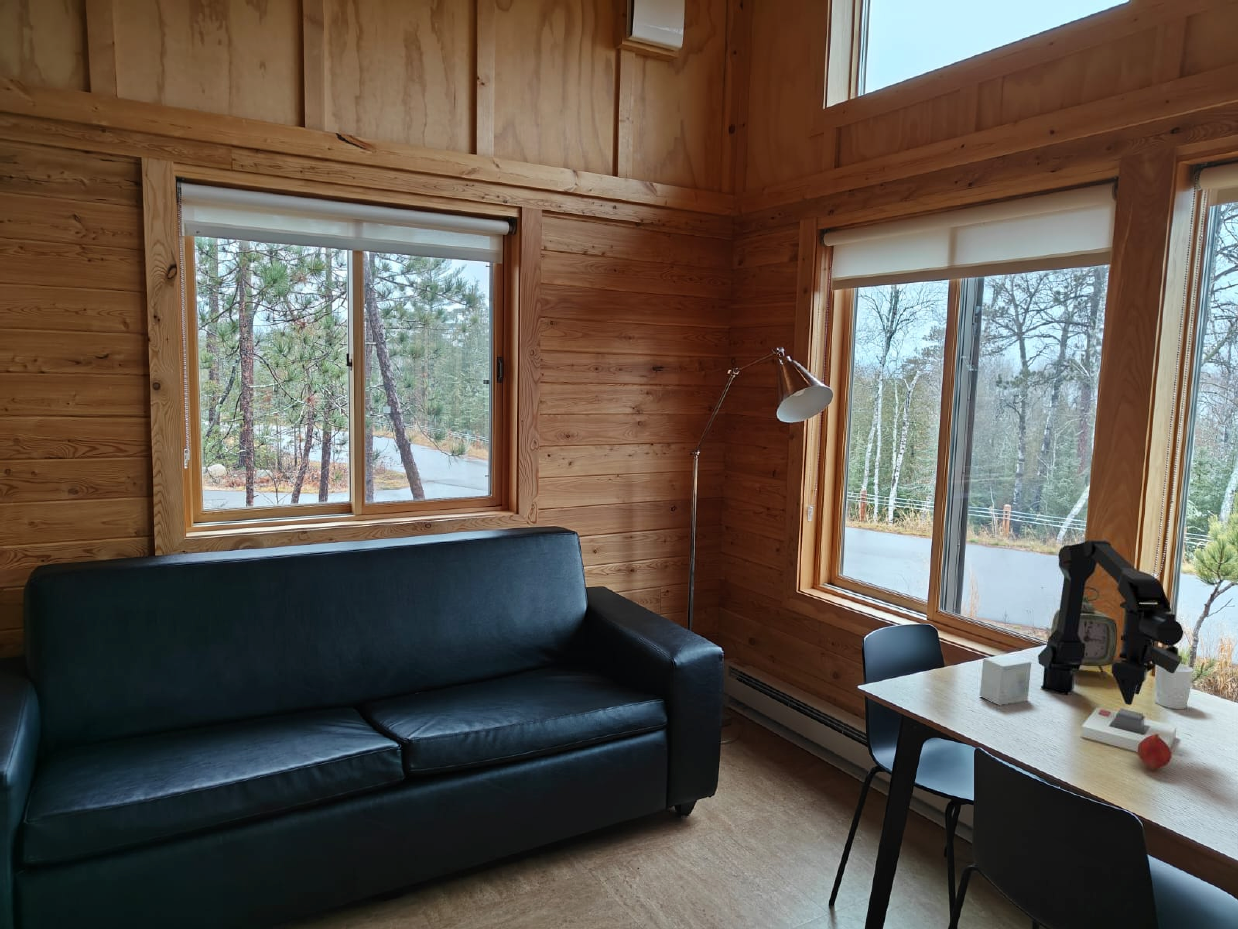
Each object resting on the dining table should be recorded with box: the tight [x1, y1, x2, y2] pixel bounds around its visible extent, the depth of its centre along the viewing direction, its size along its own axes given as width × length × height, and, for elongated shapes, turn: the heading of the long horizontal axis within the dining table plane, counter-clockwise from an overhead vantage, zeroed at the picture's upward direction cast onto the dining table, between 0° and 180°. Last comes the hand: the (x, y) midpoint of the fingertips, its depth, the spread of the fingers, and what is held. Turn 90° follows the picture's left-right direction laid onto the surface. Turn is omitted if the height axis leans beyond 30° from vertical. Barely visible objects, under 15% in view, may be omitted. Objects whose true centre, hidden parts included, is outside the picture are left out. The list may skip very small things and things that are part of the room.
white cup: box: [1154, 663, 1194, 710], centre depth 207 cm, size 8×8×10 cm
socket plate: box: [1080, 707, 1177, 753], centre depth 186 cm, size 16×16×3 cm
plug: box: [1115, 708, 1146, 735], centre depth 186 cm, size 5×4×5 cm
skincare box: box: [979, 654, 1032, 706], centre depth 207 cm, size 10×6×10 cm, turn 114°
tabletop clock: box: [1050, 585, 1118, 678], centre depth 229 cm, size 14×9×25 cm, turn 82°
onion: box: [1137, 733, 1172, 771], centre depth 169 cm, size 6×6×8 cm
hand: (1132, 699), depth 185 cm, fingers open, 9 cm apart
